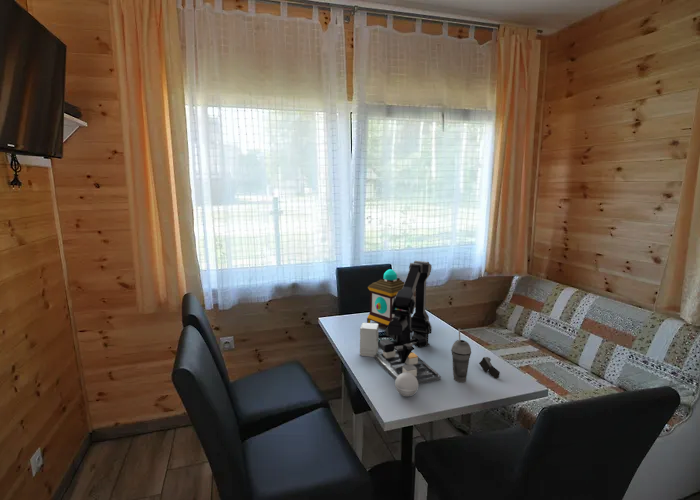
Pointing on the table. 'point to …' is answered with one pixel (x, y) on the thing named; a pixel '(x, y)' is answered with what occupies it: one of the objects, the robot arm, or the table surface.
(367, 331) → the supplement box
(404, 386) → the bath bomb
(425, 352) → the table surface
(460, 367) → the beverage cup
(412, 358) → the block
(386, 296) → the decorative lantern
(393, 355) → the breaker far
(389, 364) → the panel
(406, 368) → the breaker near
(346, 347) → the table surface
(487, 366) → the black bow tie
